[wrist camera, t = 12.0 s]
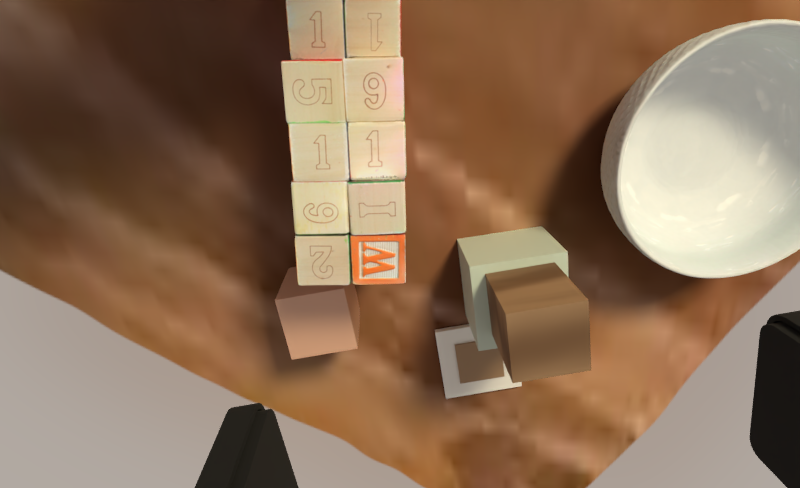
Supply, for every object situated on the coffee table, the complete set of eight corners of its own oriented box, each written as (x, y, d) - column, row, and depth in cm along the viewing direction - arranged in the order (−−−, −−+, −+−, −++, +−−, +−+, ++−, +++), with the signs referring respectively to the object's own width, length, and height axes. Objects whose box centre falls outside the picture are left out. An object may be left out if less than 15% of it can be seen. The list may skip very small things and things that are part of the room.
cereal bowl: (660, -17, 35) (727, -37, 28) (836, 89, 38) (934, 94, 31) (536, 197, 39) (569, 224, 33) (701, 275, 43) (761, 314, 36)
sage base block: (456, 238, 40) (469, 266, 35) (541, 225, 40) (567, 251, 35) (465, 313, 43) (478, 351, 37) (545, 301, 43) (570, 337, 37)
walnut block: (485, 273, 35) (505, 314, 29) (554, 262, 35) (588, 300, 29) (491, 334, 37) (512, 383, 31) (558, 323, 37) (591, 370, 31)
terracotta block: (289, 267, 41) (274, 300, 35) (348, 257, 41) (343, 288, 35) (303, 320, 42) (291, 359, 37) (360, 310, 42) (357, 348, 37)
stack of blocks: (302, -89, 32) (260, -174, 21) (397, -87, 33) (409, -171, 21) (319, 223, 40) (296, 289, 28) (397, 222, 40) (406, 287, 28)
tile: (434, 329, 43) (435, 333, 42) (513, 316, 43) (515, 320, 42) (445, 395, 46) (446, 400, 45) (520, 382, 45) (522, 387, 45)
